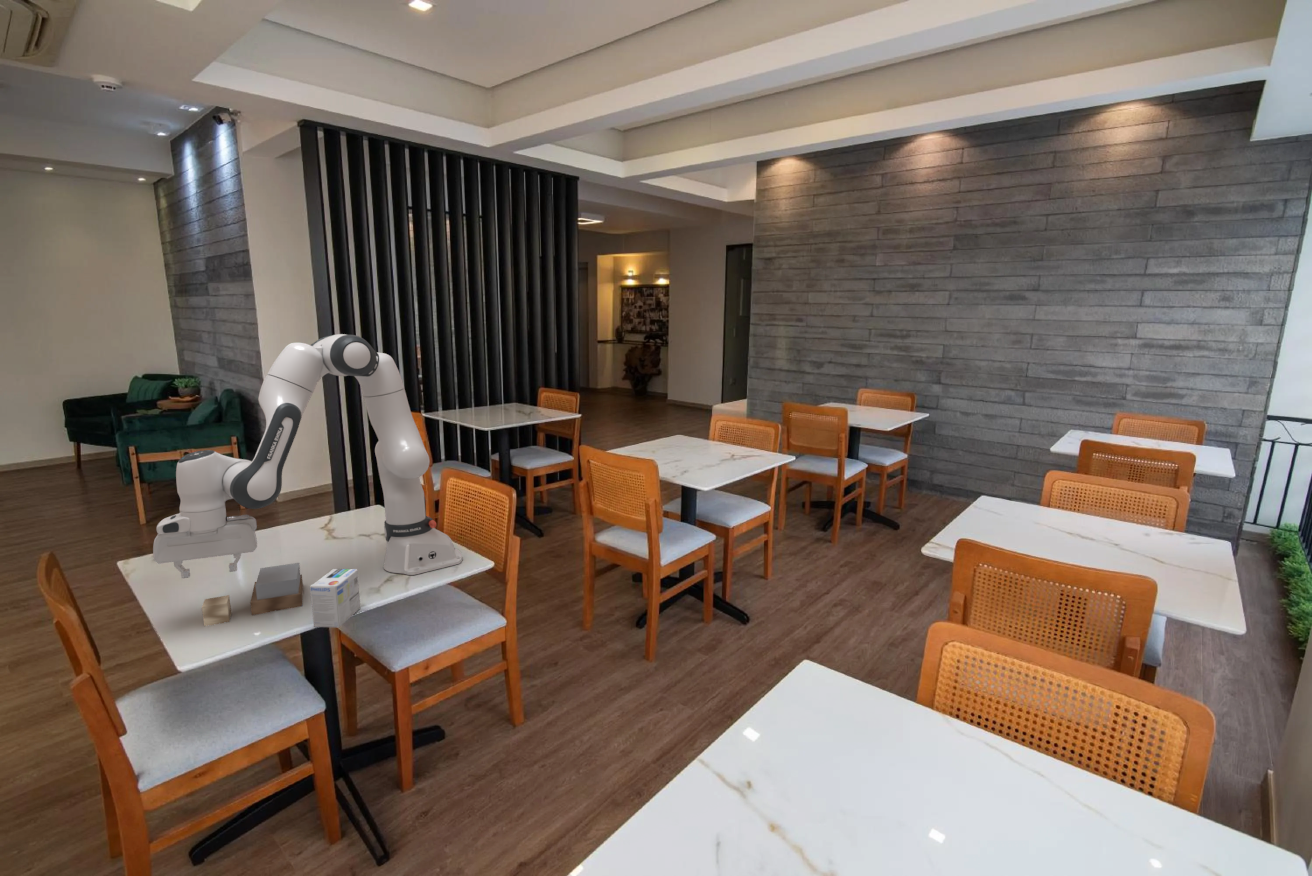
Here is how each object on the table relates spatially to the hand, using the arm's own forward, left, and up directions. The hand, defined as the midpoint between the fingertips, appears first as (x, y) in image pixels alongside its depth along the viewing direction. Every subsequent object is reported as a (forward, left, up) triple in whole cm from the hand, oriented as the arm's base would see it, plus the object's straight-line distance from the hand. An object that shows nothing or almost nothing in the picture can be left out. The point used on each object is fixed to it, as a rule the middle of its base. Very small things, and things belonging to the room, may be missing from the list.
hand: (210, 574), depth 152 cm
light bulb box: (-26, +12, -12) cm, 31 cm away
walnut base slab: (-13, -6, -13) cm, 19 cm away
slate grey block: (-14, -6, -9) cm, 17 cm away
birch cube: (0, 0, -12) cm, 12 cm away
